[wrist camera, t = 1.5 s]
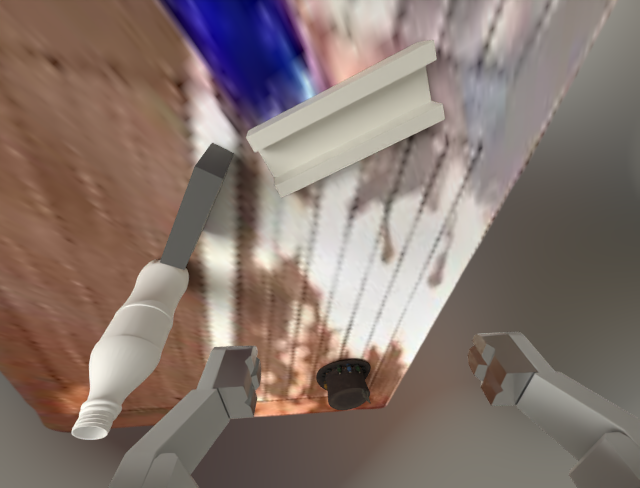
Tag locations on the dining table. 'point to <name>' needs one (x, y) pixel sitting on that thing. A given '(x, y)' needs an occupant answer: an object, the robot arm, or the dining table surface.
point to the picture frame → (196, 205)
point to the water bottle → (130, 346)
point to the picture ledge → (349, 120)
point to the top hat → (345, 383)
